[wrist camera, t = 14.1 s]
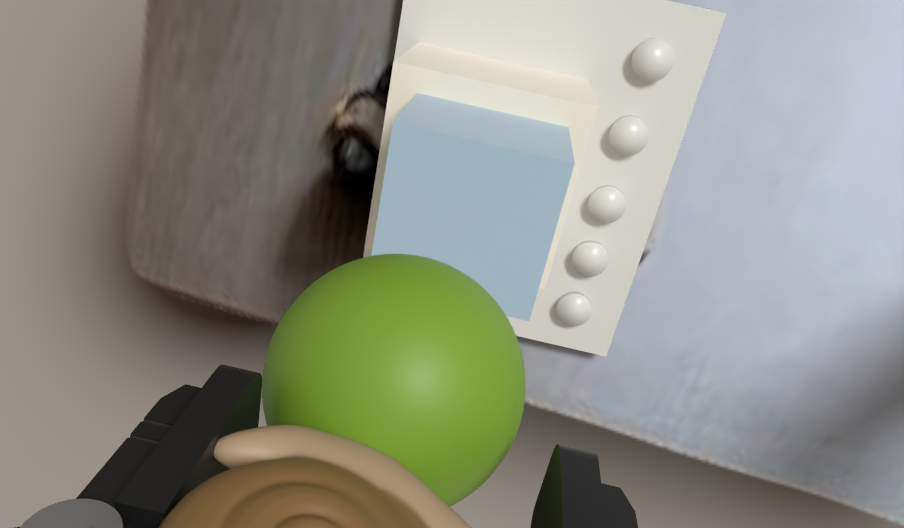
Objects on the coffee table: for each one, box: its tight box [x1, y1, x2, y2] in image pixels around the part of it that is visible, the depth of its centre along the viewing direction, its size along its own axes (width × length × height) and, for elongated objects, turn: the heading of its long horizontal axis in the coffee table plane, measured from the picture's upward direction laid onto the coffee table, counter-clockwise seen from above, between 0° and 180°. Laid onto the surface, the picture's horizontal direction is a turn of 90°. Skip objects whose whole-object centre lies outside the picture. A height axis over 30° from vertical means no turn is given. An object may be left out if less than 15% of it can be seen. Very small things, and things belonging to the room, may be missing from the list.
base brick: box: [364, 43, 598, 289], centre depth 31 cm, size 8×8×6 cm
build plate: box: [363, 0, 726, 356], centre depth 34 cm, size 18×14×2 cm
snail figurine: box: [158, 254, 525, 528], centre depth 12 cm, size 5×6×12 cm
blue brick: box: [371, 93, 575, 321], centre depth 26 cm, size 6×6×5 cm
